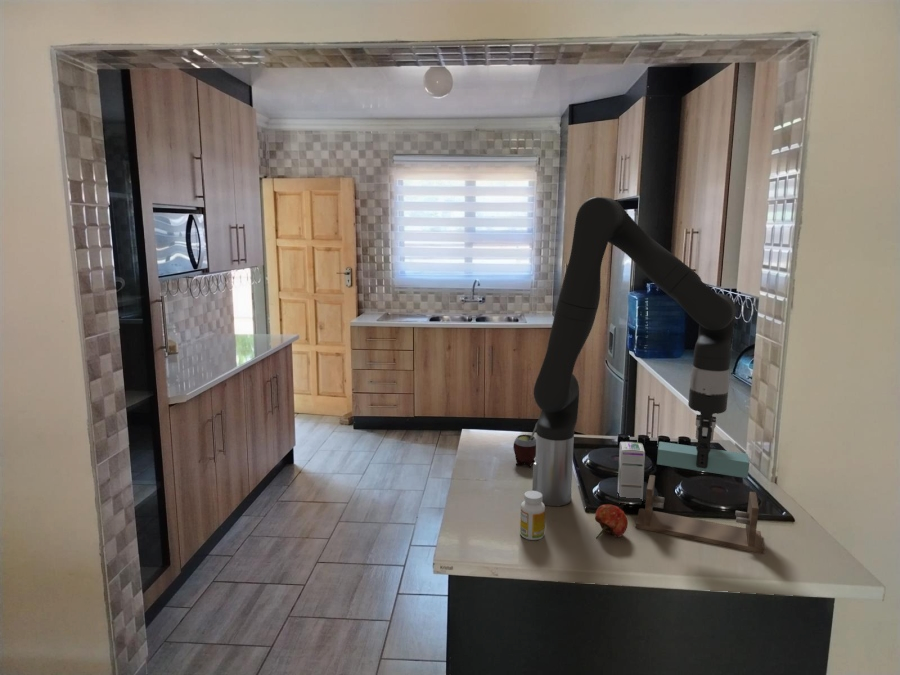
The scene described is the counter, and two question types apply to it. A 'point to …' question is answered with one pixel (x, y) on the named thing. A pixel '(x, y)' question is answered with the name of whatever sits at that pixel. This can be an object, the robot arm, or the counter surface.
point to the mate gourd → (525, 449)
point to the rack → (702, 524)
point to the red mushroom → (611, 519)
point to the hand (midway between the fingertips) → (702, 462)
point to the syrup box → (631, 470)
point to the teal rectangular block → (717, 459)
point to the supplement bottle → (532, 516)
